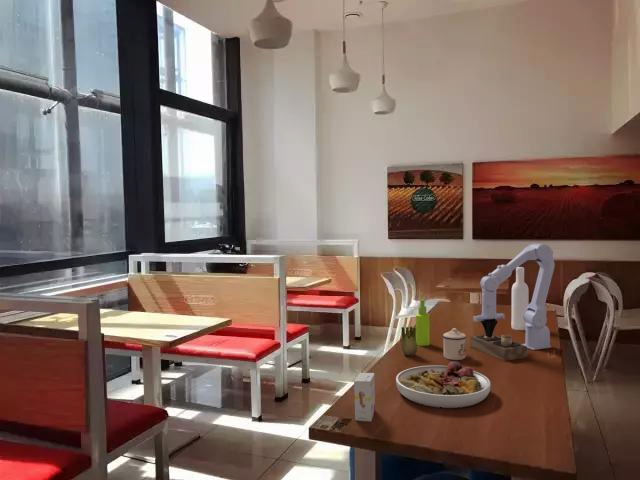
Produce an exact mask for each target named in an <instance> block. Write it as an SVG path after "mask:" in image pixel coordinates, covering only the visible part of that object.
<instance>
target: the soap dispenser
mask: <svg viewBox="0 0 640 480" xmlns="http://www.w3.org/2000/svg"><path fill="white" fill-rule="evenodd" d="M425 300H426V298H420V299H419V302H420V305H419V306H418V313H416V314H415V328H416V343H417V346H421V347H423V346H425V347H426V346H429V345H430V344H431V343H430V342H431V341H430V338H431V337H430V314H429V313H427V306H426V305H425Z"/></svg>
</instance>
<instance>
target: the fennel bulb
mask: <svg viewBox="0 0 640 480" xmlns="http://www.w3.org/2000/svg"><path fill="white" fill-rule="evenodd" d="M400 330H401V342H400V343H401V350H402V353H403V354H404V355H405V356H408V357H413V356H415V355H416V354H417V353H418V345H417V343H416V326H412V325H410V326H401V329H400Z"/></svg>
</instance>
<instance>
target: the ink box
mask: <svg viewBox="0 0 640 480" xmlns="http://www.w3.org/2000/svg"><path fill="white" fill-rule="evenodd" d="M353 387H354V390H353V391H354V421H361V422H372V420H373V417H374V414H375V412H376V403H375V402H376V399H375V398H376V394H375V393H376V391H375V390H376V389H375V373H374V372H359V373H358V374H357V376H356V377H355V379H354V381H353Z"/></svg>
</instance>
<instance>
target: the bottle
mask: <svg viewBox="0 0 640 480" xmlns="http://www.w3.org/2000/svg"><path fill="white" fill-rule="evenodd" d="M529 291H530V290H529V286H528V284H527V283H526V282H525V267H523V266H518V267H517V268H515V282H514V283H513V284H512V287H511V329H512V330H515V331H526V322H525V321H524V319H523V313H524V312H525V310H526V309H527V306H528V305H529V300H530V299H529Z"/></svg>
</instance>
